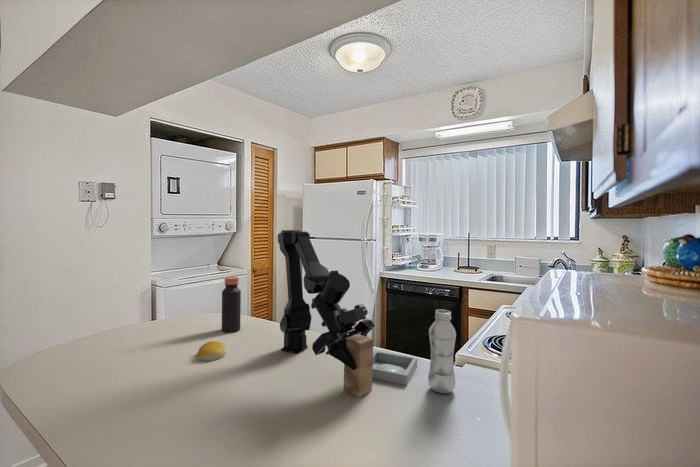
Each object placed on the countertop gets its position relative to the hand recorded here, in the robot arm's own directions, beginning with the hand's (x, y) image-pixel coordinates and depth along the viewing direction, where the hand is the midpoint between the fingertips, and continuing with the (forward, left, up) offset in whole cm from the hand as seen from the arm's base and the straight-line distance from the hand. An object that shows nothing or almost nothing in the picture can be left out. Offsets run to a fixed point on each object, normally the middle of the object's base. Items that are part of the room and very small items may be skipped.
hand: (362, 365), depth 83 cm
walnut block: (-1, 0, -7) cm, 7 cm away
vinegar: (-62, +23, -7) cm, 67 cm away
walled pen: (+3, +15, -7) cm, 17 cm away
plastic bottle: (+18, +9, -7) cm, 21 cm away
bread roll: (-50, +2, -7) cm, 51 cm away
